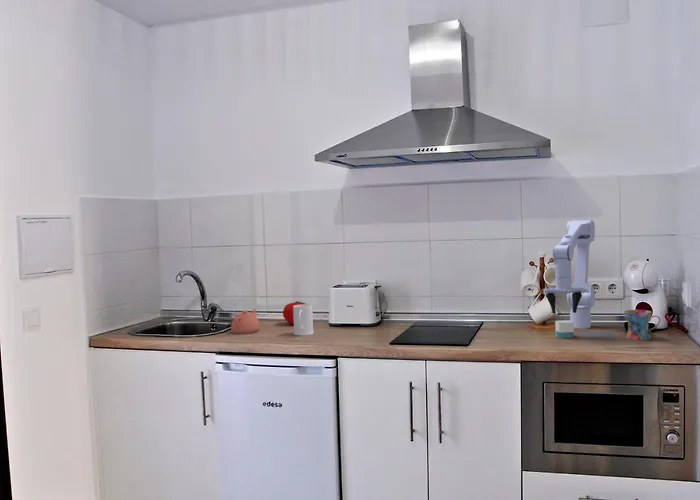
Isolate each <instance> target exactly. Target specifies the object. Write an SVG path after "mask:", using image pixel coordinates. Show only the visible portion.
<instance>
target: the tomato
mask: <svg viewBox="0 0 700 500" xmlns="http://www.w3.org/2000/svg"><path fill="white" fill-rule="evenodd" d="M302 304H306V303H305V302H302V301H298V300H297V301H294V302H289V303H288V304H286V305H285V306H284V308H283V310H282V316H283V318H284V320H285V321H286V322H287V323H288V324H292V325H294V315H293V306H295V305H302Z"/></svg>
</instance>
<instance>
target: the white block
mask: <svg viewBox="0 0 700 500" xmlns="http://www.w3.org/2000/svg"><path fill="white" fill-rule="evenodd" d="M555 330H556V331H558V332H559V333H561V332H574V333H575V328H574V323H573V322H571V321H570V320H555Z"/></svg>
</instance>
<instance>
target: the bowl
mask: <svg viewBox="0 0 700 500" xmlns="http://www.w3.org/2000/svg"><path fill="white" fill-rule="evenodd" d="M554 333H555V334H554V336H555V337H556V338H559V339H560V338H562V339H571V338H574V337H575V331H574V332H561V333H559V332H558V331H556V329H555V332H554Z"/></svg>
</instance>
